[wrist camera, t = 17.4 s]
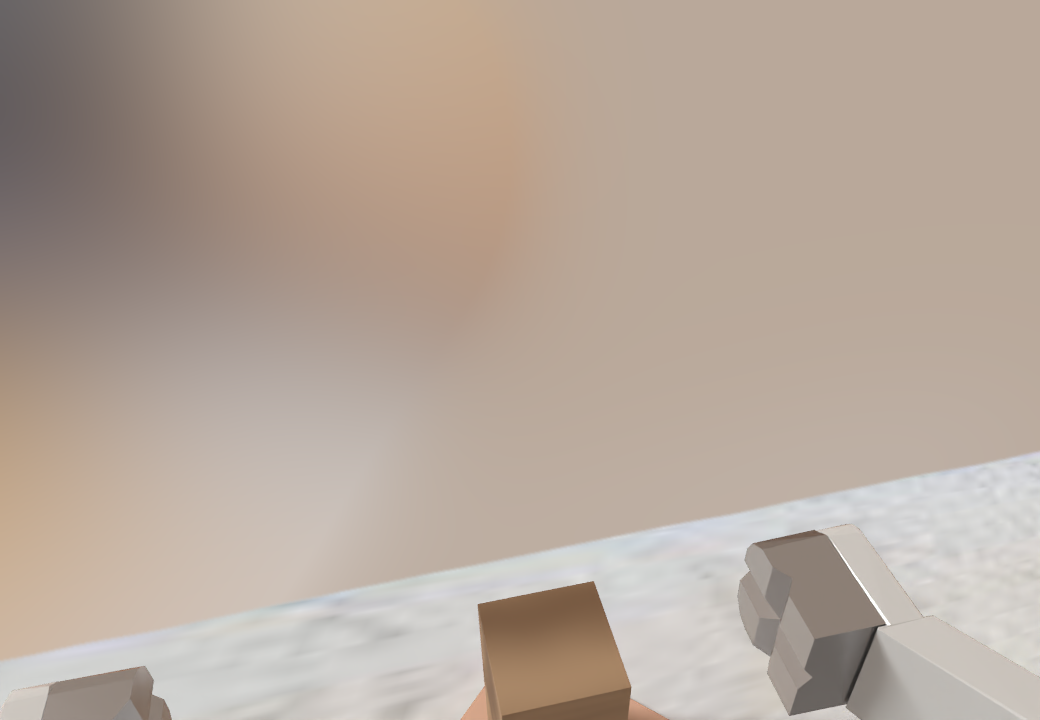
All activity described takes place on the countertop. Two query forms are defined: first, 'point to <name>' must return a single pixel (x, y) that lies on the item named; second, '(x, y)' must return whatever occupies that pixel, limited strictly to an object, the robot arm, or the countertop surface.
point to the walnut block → (552, 658)
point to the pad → (637, 716)
